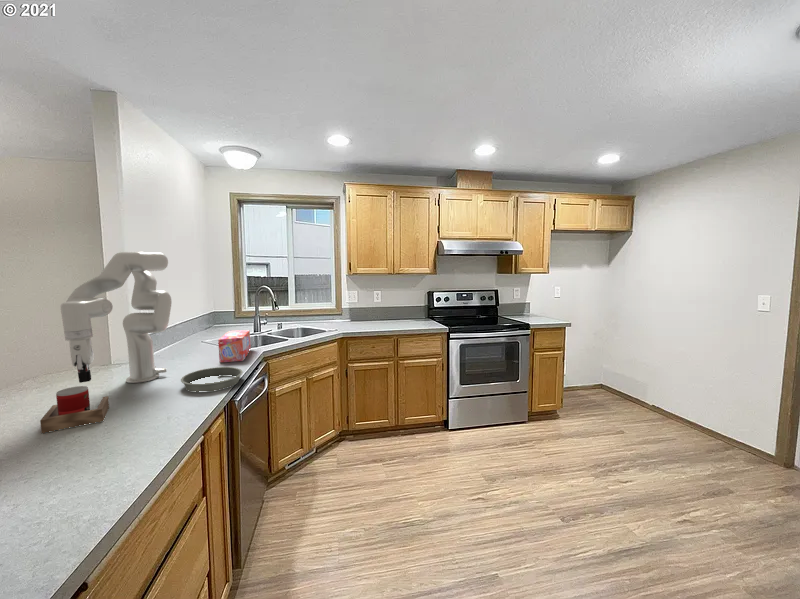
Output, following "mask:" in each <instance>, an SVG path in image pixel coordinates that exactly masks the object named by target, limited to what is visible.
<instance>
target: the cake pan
mask: <svg viewBox="0 0 800 599" xmlns="http://www.w3.org/2000/svg"><path fill="white" fill-rule="evenodd" d="M243 373H244V372H243V370H242V369H241V368H238V367H233V366H217V367H210V368H203V369H199V370H195V371H191V372H190V373H187V374H185V375H183V376H182V377H181V378H180V382H181V383H182V384H183V385H184V388H185V390H186V389H187V390H189V391H188V392H190V391H196V392H195V393H197V392H199V391H213V392H215V391H214V390H218V391H220V390H219V389H222V390H224V389H223V388H226V389H228V388H227V387H229V388H231V387H234V386H235V385H237V384H238V383H239V381H240V377H241V375H242V374H243ZM219 375H232V376H236V377H230V378H228V379H223V380H224V381H220V382H214V383H205V384H192V383H190V382H192V381H195V380H198V379H201V378H205V377H210V376H219ZM233 385H234V386H233ZM230 386H231V387H230ZM187 390H186V391H187Z"/></svg>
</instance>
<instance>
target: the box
mask: <svg viewBox="0 0 800 599" xmlns="http://www.w3.org/2000/svg"><path fill="white" fill-rule="evenodd" d="M217 342H218V343H217V344H218V359H219V363H229V362H232V363H234V362H243V360H244V359H246V358H247V357H248V355H249V354H248V352H249V349H251V350H252V347H251V330H250V329H245V330H244V329H242V330H240V329H239V330H229V331H227V332H225V333H224V335H222V336H221V337H220V338H218V339H217ZM249 353H250V352H249ZM247 354H248V355H247ZM246 356H247V357H246ZM245 357H246V358H245ZM244 361H245V360H244Z"/></svg>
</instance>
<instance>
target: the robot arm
mask: <svg viewBox="0 0 800 599" xmlns="http://www.w3.org/2000/svg"><path fill="white" fill-rule="evenodd" d="M168 264H169V260H168V257H167V256H166V255H165V254H164V253H162V252H144V251H120V252H116V253H114V255H113V256H112V257H111V259H109V261H108V262H107V264H106V265H105V267H104V268H103V270H102V271H101V272H100V273H99V274H98V276H95V277H93V278H91V279H89V280H88V281H86V282H83V283H82V284H79V286H78V287H77V288H75V289H74V290H73V291H72V293H71V294H70V295H69V296H68V298H67V300H66V301H65V302H62V303H61V304H60V313H61V319H62V326H63V333H64V334H63V335H64V340H65V341H68V342H69V352H70V358H71V360H70V361H71V364H72V367H74V368H76V369H77V374H78V375H77V376H78V382H79V383H80V384H81V383H82V384H83V383H86V382H91V380H92V375H91V370H90V365H91V364H92V363H93V361H94V359H95V353H94V349H93V343H92V339H91V338H93V337H94V336H93V335H94V334H93V329H92V328H93V327H92V320H91V319H92V318H93V319H95V318H102V317H106V316H108V315H110V313H112V311H113V303H112V302H111V301H110V300H109V299H107V298H104V297H103V298H102V297H97V296H99V295H101V294H105V293H107V292H111V291H114V290H117V289H120V288H121V287H123V286H124V284H126V281H127V280H128V278H129V277H130V275H131V274H132V276H133V278H134V279H133V280H134V284H133V285H134V286H133V290H132V294H131V299H130V300H131V301H130V304H131V308H133V309H134V310H137V311H153V312H133V313H129V314H127V315H125V316H124V318H123V319H122V328H123V330H124V334H125V336H126V344H127V345H126V346H127V354H128V355H127V357H128V368H129V369H128V370H129V376H128V377H126V378H125V381H126V382H127V383H128V384H139V383H140V384H141V383H146V382H151V381H154V380H156V379H157V378H159V377H160V374H163V373H167V367H166V368H163V367H161V368H157V366H156V365H155V355H154V353H155V352H154V351H155V350H154V341H153V338H152V337H151V335H150V334H159V333H163V332H165V331H166V330H167V328H168V326H169V322H170V315H171V309H172V297H171V294H170V293H169V292H168V291H166V290H163V289H162V290H159V289H158V290H157V284H158V283H157V282H158V281H157V279H156V277H155V275H154V274H153V273H152V272H159V271H161V272H163V271H164V270H166V268H168Z"/></svg>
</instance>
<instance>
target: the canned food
mask: <svg viewBox="0 0 800 599" xmlns="http://www.w3.org/2000/svg"><path fill="white" fill-rule="evenodd" d="M55 394H56V395H55V397H56V405H57V407H58V415H65V414H70V413H76V412H82V411H87V410H91V404H90V403H91V402H90V401H91V400H90V391H89V388H88V386H87V385H86V386H85V385H79V386H77V385H76V386H71V387H67V388H64V389H63V388H62V389H61V390H58V391H56V393H55Z"/></svg>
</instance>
